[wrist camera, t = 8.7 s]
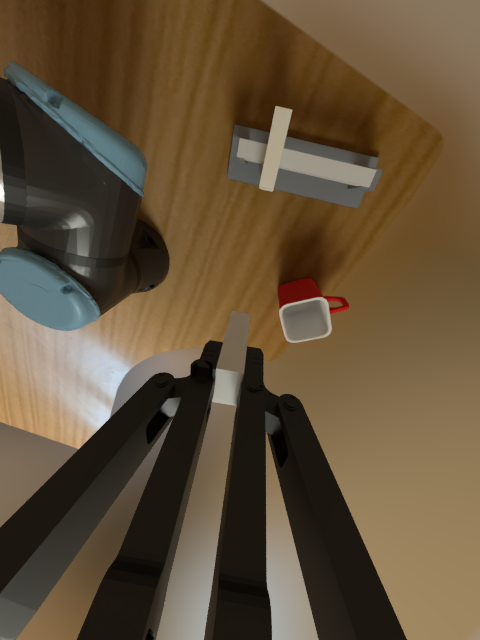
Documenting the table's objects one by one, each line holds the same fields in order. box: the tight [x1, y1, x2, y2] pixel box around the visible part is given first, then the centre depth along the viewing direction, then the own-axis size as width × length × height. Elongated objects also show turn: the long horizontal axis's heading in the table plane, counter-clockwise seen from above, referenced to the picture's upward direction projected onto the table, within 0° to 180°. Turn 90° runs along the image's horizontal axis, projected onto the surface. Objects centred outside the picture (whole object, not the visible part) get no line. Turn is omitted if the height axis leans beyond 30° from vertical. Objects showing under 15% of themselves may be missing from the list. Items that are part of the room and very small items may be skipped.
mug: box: [278, 278, 349, 343], centre depth 41 cm, size 12×8×11 cm
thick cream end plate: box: [259, 106, 292, 192], centre depth 30 cm, size 2×8×8 cm, turn 169°
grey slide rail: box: [227, 124, 383, 208], centre depth 32 cm, size 23×7×7 cm, turn 79°
